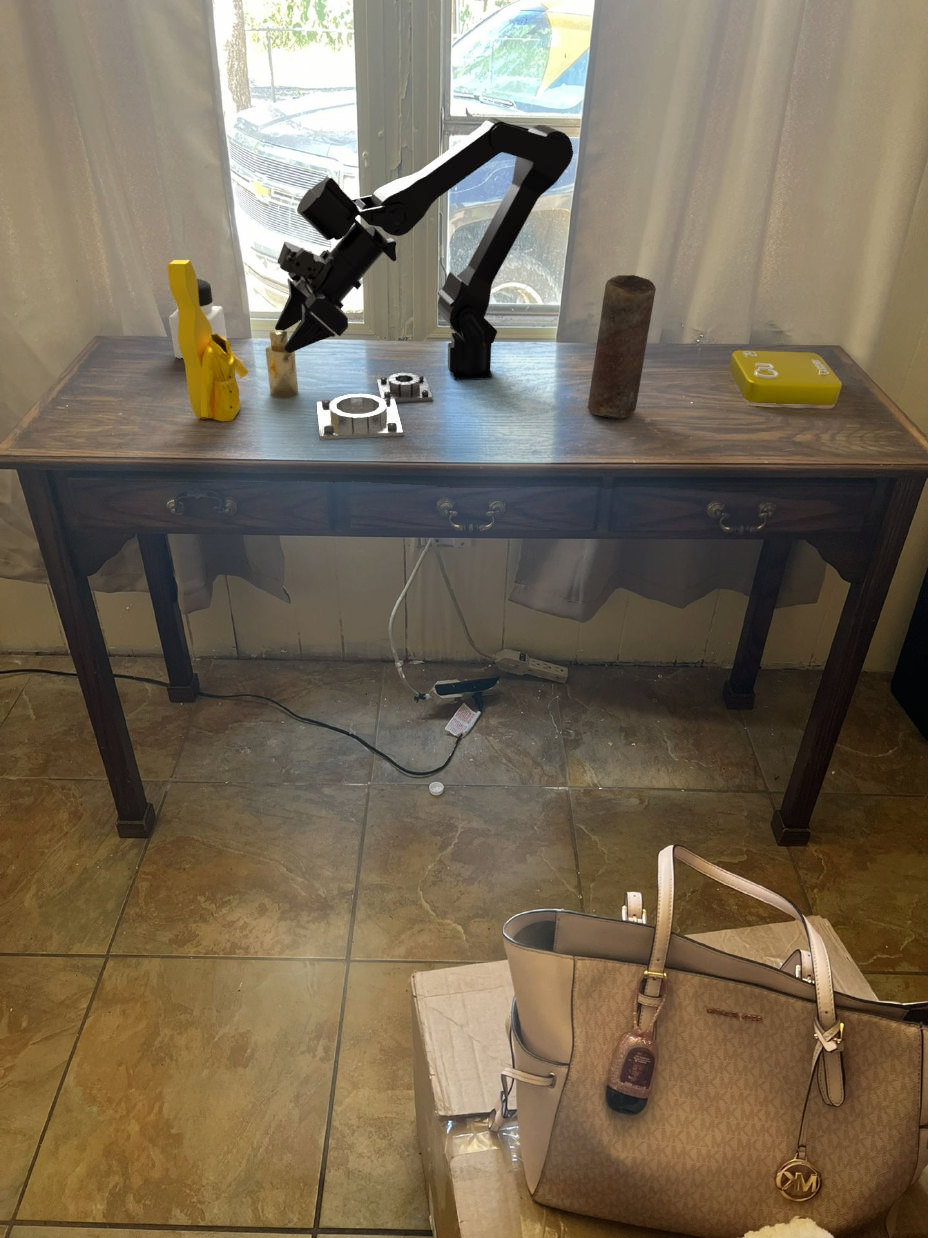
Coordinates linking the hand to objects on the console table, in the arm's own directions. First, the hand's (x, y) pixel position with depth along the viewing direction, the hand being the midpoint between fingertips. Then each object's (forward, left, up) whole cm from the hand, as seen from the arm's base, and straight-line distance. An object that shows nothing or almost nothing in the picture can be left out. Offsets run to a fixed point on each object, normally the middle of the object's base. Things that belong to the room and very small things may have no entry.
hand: (281, 340), depth 136 cm
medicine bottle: (+14, -19, -8) cm, 25 cm away
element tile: (-81, +8, -9) cm, 81 cm away
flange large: (-11, +12, -8) cm, 18 cm away
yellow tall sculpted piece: (+10, +7, -8) cm, 15 cm away
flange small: (-19, +2, -8) cm, 20 cm away
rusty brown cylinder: (-50, +14, -8) cm, 52 cm away
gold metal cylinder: (0, 0, -8) cm, 8 cm away
